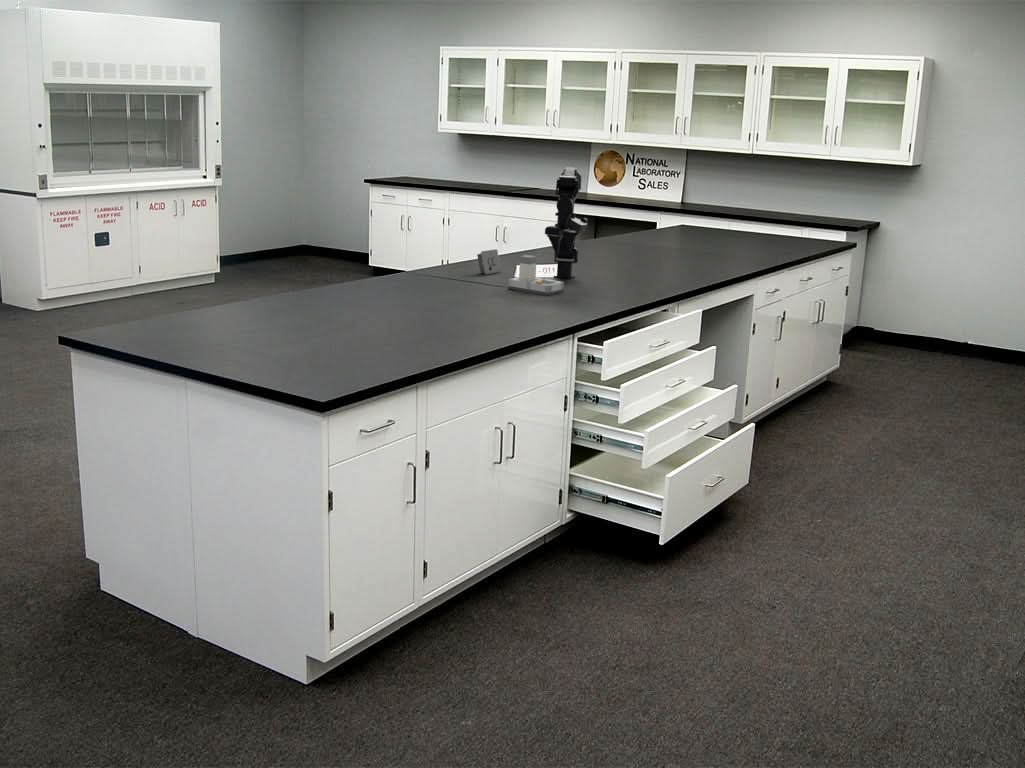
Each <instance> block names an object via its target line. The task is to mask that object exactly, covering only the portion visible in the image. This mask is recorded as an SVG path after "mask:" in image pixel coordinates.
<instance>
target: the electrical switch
mask: <svg viewBox="0 0 1025 768" xmlns="http://www.w3.org/2000/svg"><path fill="white" fill-rule="evenodd" d="M477 260H478V261H477V262H478V265H479V266H478V267H479V272H480V274H485V275H490V274H491V275H493V274H498V273H501V271H502V269H501V262H500V255H499V252H498V249H497V248H496V249H489V250H482V251H481V252H480V253H478V254H477Z"/></svg>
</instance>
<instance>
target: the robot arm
mask: <svg viewBox="0 0 1025 768" xmlns="http://www.w3.org/2000/svg"><path fill="white" fill-rule="evenodd" d="M581 188H582V175H581V174H580V173H579V172H578V169H577V168H576V167H564V168H563V172H562V173H561V174H560V175H559V176H558V178H556V187H555V193H554V194H555V196H558V200H557V202H556V206H555V207H556V209H557V212H555V216H557V220H556V222H557V223H554V225H550V226H546V227H545V229H544V235H546V237H548V239H549V241H550V244H551V246H552V249H553V251H554V259H553V260H554V263H557V266H556V267H557V268H556V275H557V276H555V275H553V278H558V279H563V280H568V279H573V278H576V275H573V265H574V264H578V262H579V251H578V250H577V247H576V243H575V242H576V239H577V237H578V236H579V235H581V234H582V233H585V231H586V228H589V226H588V225H589V221H588V219H587V218H585V217H584V218H581V219H580V218H577V215H576V213H575V212H574V211H575V201H576V199H577V198H578V197H579V194H580V191H581V190H582V189H581Z"/></svg>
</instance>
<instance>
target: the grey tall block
mask: <svg viewBox="0 0 1025 768" xmlns="http://www.w3.org/2000/svg"><path fill="white" fill-rule="evenodd" d="M536 274H537V256H535V255H529V254H524V255H520V257H519V273H518V277H519V280H524V281H534V280H536V278H537V275H536Z"/></svg>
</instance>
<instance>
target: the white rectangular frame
mask: <svg viewBox="0 0 1025 768" xmlns="http://www.w3.org/2000/svg"><path fill="white" fill-rule="evenodd" d="M509 288H510V290H514V289H515V290H516V291H520V292H526V293H533V294H537V295H539V294H540V295H542V296H543V295H545V296H551V295H555V293H556V294H558V293H562V292H565V291H564V289H565V282H564V281H559V280H554V279H548V278H547V279H546V278H541V277H536V280H534V281H524V280H519V276H517V277H513V278H509V279H508V289H509ZM515 290H514V291H515Z"/></svg>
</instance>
